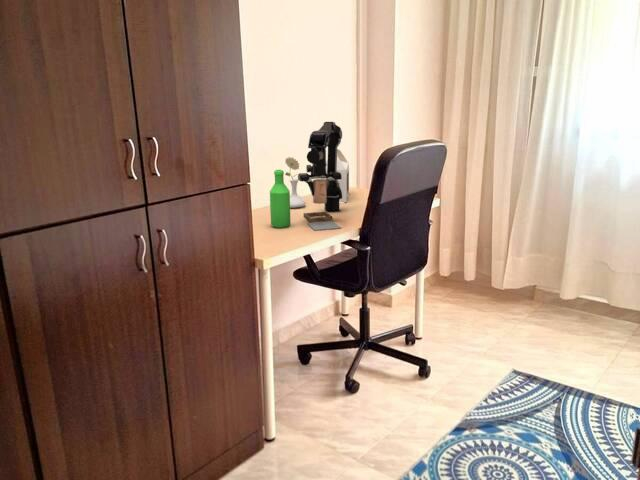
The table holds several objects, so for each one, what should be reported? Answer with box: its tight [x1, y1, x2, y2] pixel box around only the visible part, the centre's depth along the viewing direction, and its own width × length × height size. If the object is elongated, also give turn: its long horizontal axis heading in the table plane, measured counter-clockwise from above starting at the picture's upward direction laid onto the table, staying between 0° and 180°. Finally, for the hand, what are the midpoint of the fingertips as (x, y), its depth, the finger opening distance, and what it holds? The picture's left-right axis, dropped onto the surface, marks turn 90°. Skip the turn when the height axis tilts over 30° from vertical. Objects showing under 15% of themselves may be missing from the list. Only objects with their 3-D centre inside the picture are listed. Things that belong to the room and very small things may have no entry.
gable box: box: [320, 148, 350, 203], centre depth 300 cm, size 22×13×28 cm, turn 174°
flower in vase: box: [284, 156, 307, 209], centre depth 284 cm, size 13×11×25 cm
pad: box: [307, 220, 342, 232], centre depth 250 cm, size 12×12×1 cm
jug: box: [312, 178, 327, 205], centre depth 252 cm, size 10×6×10 cm, turn 15°
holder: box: [303, 210, 334, 223], centre depth 263 cm, size 11×11×2 cm
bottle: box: [269, 169, 292, 229], centre depth 248 cm, size 9×9×25 cm
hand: (319, 195), depth 253 cm, fingers closed on jug, 6 cm apart
